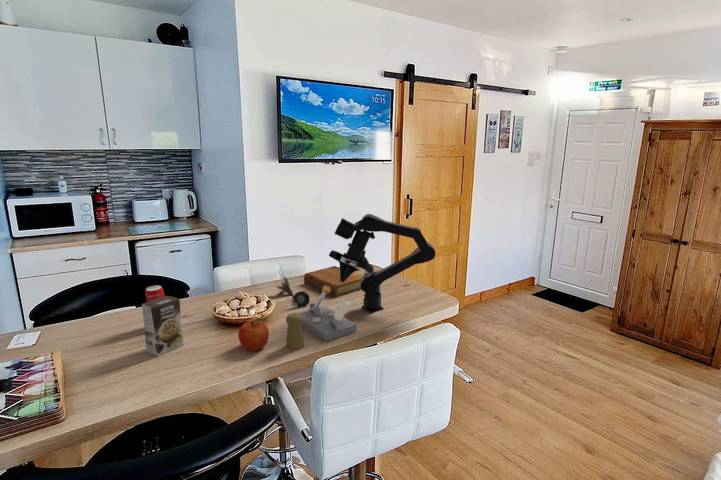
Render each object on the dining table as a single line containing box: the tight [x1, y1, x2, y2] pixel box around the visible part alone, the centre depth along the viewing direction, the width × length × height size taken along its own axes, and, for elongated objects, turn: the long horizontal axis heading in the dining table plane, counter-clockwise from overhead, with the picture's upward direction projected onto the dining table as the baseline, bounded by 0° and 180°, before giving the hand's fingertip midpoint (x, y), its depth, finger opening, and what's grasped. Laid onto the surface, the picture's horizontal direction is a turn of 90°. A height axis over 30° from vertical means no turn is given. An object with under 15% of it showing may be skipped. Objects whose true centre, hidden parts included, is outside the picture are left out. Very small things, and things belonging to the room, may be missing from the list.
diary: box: [303, 265, 364, 298], centre depth 189 cm, size 23×19×6 cm
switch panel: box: [298, 302, 358, 343], centre depth 147 cm, size 13×21×6 cm, turn 38°
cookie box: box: [141, 295, 184, 357], centre depth 128 cm, size 9×6×16 cm
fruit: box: [237, 317, 270, 351], centre depth 131 cm, size 10×10×10 cm
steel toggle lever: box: [310, 285, 330, 312], centre depth 153 cm, size 3×3×11 cm
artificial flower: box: [274, 276, 311, 308], centre depth 173 cm, size 9×22×10 cm, turn 27°
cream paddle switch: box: [330, 298, 351, 326], centre depth 142 cm, size 2×4×9 cm, turn 28°
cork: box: [285, 312, 305, 351], centre depth 132 cm, size 6×6×11 cm
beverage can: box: [144, 284, 166, 302], centre depth 144 cm, size 6×6×15 cm
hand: (341, 282), depth 155 cm, fingers closed
